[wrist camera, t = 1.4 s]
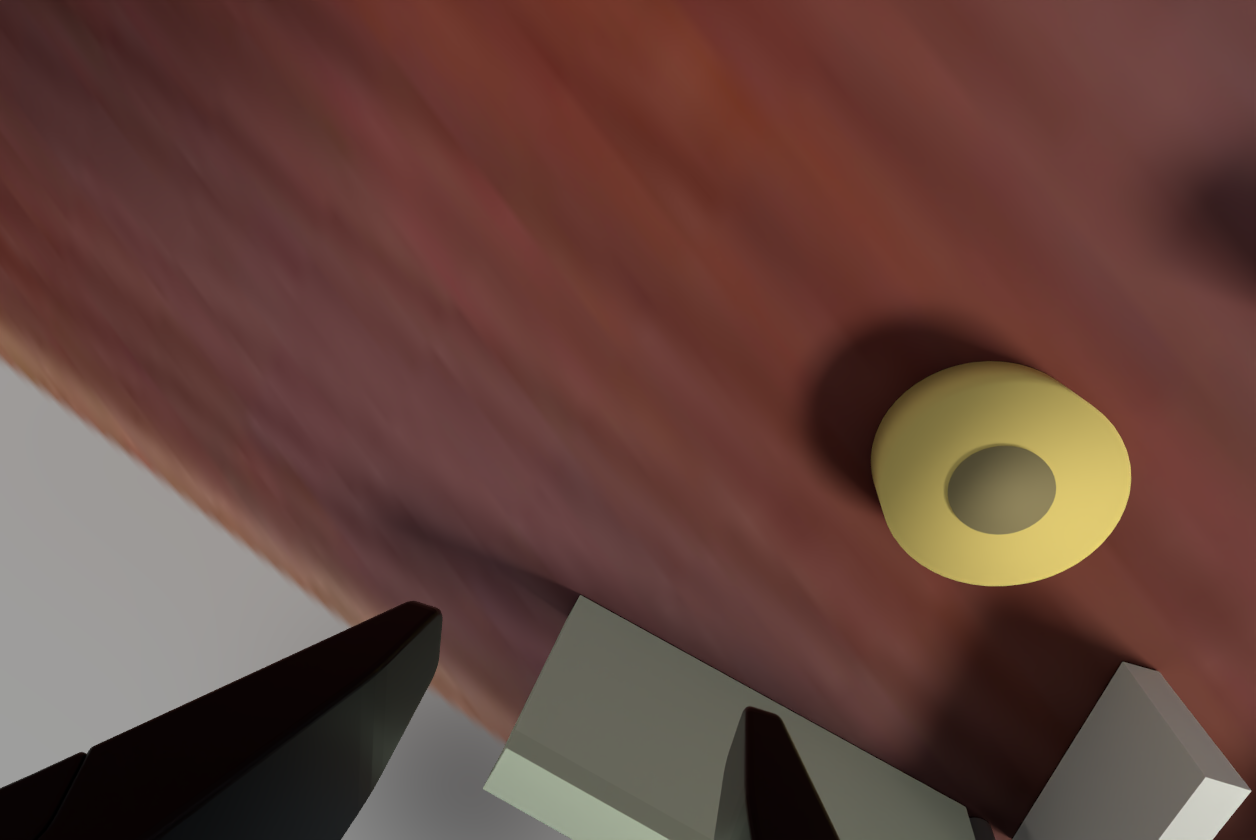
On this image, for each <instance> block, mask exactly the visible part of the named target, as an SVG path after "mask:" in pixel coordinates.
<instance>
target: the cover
mask: <svg viewBox="0 0 1256 840" xmlns="http://www.w3.org/2000/svg"><path fill="white" fill-rule="evenodd" d="M748 706H752V707H756V708H759V709H762V710H765V711H768V712H771V713H775V714H777V715H778V716H779V717H780V718H781V719H782V720H783V722H784V724H785V726H786V728H787V730H788V733H789V735H790V737H791V739H792V741H793V743H794V745H795V747H796V749H797V751H798V753H799V755H800V757H801V760H802V762H803V764H804V766H805V768H806V770H807V772H808V774H809V776H810V778H811V780H812V782H813V785H814V787H815V789H816V791H817V793H818V795H819V797H820V799H821V801H822V803H823V805H824V807H825V810H826V812H827V814H828V816H829V818H830V820H831V822H832V824H833V826H834V828H835V830H836V832H837V834H838V837H839V839H840V840H975V836H974V833H973V830H972V826H971V823H970V820H969V816H968V813H967V810H966V807H965V806H963V805H961V804H959V803H958V802H956V801H954V800H952V799H950V798H948V797H947V796H945V795H943V794H941V793H939V792H938V791H936V790H934V789H932V788H930V787H928V786H927V785H925V784H923V783H921V782H919V781H918V780H916V779H914V778H912V777H910V776H908V775H907V774H905V773H903V772H901V771H899V770H898V769H896V768H894V767H892V766H890V765H888V764H887V763H885V762H883V761H881V760H879V759H878V758H876V757H874V756H872V755H870V754H868V753H867V752H865V751H863V750H861V749H859V748H858V747H856V746H854V745H852V744H850V743H849V742H847V741H845V740H843V739H841V738H839V737H838V736H836V735H834V734H832V733H830V732H829V731H827V730H825V729H823V728H821V727H819V726H818V725H816V724H814V723H812V722H810V721H809V720H807V719H805V718H803V717H801V716H799V715H798V714H796V713H794V712H792V711H790V710H789V709H787V708H785V707H783V706H781V705H779V704H778V703H776V702H774V701H772V700H770V699H769V698H767V697H765V696H763V695H761V694H759V693H758V692H756V691H754V690H752V689H750V688H749V687H747V686H745V685H743V684H741V683H739V682H738V681H736V680H734V679H732V678H730V677H729V676H727V675H725V674H723V673H721V672H720V671H718V670H716V669H714V668H712V667H710V666H709V665H707V664H705V663H703V662H701V661H700V660H698V659H696V658H694V657H692V656H690V655H689V654H687V653H685V652H683V651H681V650H680V649H678V648H676V647H674V646H672V645H670V644H669V643H667V642H665V641H663V640H661V639H660V638H658V637H656V636H654V635H652V634H650V633H649V632H647V631H645V630H643V629H641V628H640V627H638V626H636V625H634V624H632V623H630V622H629V621H627V620H625V619H623V618H621V617H620V616H618V615H616V614H614V613H612V612H611V611H609V610H607V609H605V608H603V607H601V606H600V605H598V604H596V603H594V602H592V601H591V600H589V599H587V598H585V597H583V596H581V595H580V596H579V598H578V600H577V601H576V603H575V605H574V607H573V609H572V610H571V612H570V614H569V616H568V618H567V619H566V622H565V624H564V626H563V628H562V630H561V632H560V634H559V636H558V638H557V640H556V642H555V644H554V646H553V648H552V650H551V652H550V654H549V656H548V658H547V660H546V662H545V665H544V667H543V669H542V671H541V673H540V675H539V677H538V679H537V681H536V683H535V685H534V687H533V689H532V691H531V693H530V695H529V697H528V699H527V701H526V703H525V705H524V708H523V710H522V712H521V714H520V716H519V718H518V720H517V722H516V724H515V726H514V728H513V730H512V732H511V734H510V736H509V738H508V740H507V742H506V744H505V747H504V748H503V751H502V753H501V755H500V757H499V758H498V761H497V762H496V764H495V766H494V767H493V769H492V771H491V773H490V775H489V777H488V779H487V781H486V783H485V785H484V787H483V789H484V790H486V791H487V792H489V793H491V794H493V795H494V796H496V797H498V798H500V799H501V800H504V801H505V802H507V803H509V804H510V805H512V806H514V807H516V808H517V809H519V810H521V811H523V812H524V813H526V814H528V815H530V816H532V817H534V818H535V819H537V820H539V821H540V822H542V823H544V824H546V825H547V826H549V827H551V828H553V829H555V830H556V831H558V832H560V833H562V834H563V835H565V836H567V837H569V838H571V839H572V840H714V834H715V828H716V821H717V814H718V808H719V801H720V795H721V788H722V781H723V775H724V769H725V764H726V760H727V756H728V753H729V750H730V747H731V744H732V741H733V738H734V735H735V732H736V729H737V726H738V723H739V720H740V718H741V715H742V712H743V710H744V709H745V708H746V707H748Z"/></svg>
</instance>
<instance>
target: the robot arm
mask: <svg viewBox="0 0 1256 840" xmlns="http://www.w3.org/2000/svg"><path fill="white" fill-rule="evenodd" d="M441 630H442V613H441V611H440V610H439V609H438V608H436V607H433V606H429V605H426V604H423V603H420V602H417V601H409V602H406V603H403V604H401V605H399V606H397V607H395V608H393V609H390V610H388V611H386V612H384V613H382V614H380V615H377V616H375V617H373V618H371V619H369V620H367V621H364V622H362V623H360V624H358V625H356V626H354V627H351V628H349V629H347V630H345V631H343V632H340V633H339V634H336V635H334V636H332V637H330V638H327V639H325V640H323V641H321V642H319V643H317V644H315V645H312V646H310V647H308V648H306V649H304V650H302V651H299V652H297V653H295V654H293V655H291V656H289V657H286V658H284V659H282V660H280V661H278V662H275V663H273V664H271V665H269V666H267V667H265V668H262V669H260V670H258V671H256V672H254V673H252V674H249V675H247V676H245V677H243V678H241V679H239V680H236V681H234V682H232V683H230V684H228V685H225V686H223V687H221V688H219V689H217V690H215V691H213V692H210V693H208V694H206V695H204V696H202V697H199V698H197V699H195V700H193V701H191V702H189V703H186V704H184V705H182V706H180V707H178V708H176V709H174V710H171V711H169V712H167V713H165V714H163V715H160V716H158V717H156V718H154V719H152V720H150V721H147V722H145V723H143V724H141V725H139V726H137V727H134V728H132V729H130V730H128V731H126V732H123V733H121V734H119V735H117V736H115V737H113V738H110V739H108V740H106V741H104V742H102V743H100V744H98V745H95V746H93V747H92V748H91V749H90V750H89V751H88V753H87V754H86V753H83V752H80V753H77V754H75V755H73V756H71V757H69V758H66V759H64V760H62V761H60V762H58V763H56V764H53V765H51V766H49V767H47V768H45V769H43V770H40V771H38V772H36V773H34V774H32V775H30V776H27V777H25V778H23V779H20V780H18V781H16V782H14V783H11V784H9V785H7V786H5V787H2V788H0V840H341V839H342V837H343V836H344V834H345V832H346V831H347V830H348V828H349V827H350V825H351V823H352V822H353V821H354V819H355V818H356V816H357V815H358V813H359V811H360V810H361V808H362V807H363V805H364V804H365V802H366V800H367V799H368V797H369V796H370V794H371V792H372V791H373V789H374V787H375V785H376V783H377V782H378V780H379V778H380V776H381V774H382V773H383V771H384V769H385V767H386V765H387V763H388V761H389V759H390V757H391V756H392V753H393V752H394V750H395V748H396V746H397V744H398V742H399V741H400V738H401V737H402V735H403V733H404V731H405V729H406V727H407V726H408V724H409V722H410V720H411V718H412V716H413V714H414V712H415V710H416V708H417V707H418V705H419V703H420V701H421V699H422V697H423V695H424V693H425V692H426V690H427V688H428V686H429V684H430V682H431V680H432V678H433V676H434V674H435V671H436V668H437V665H438V661H439V652H440V641H441ZM714 840H840V839H839V837H838V834H837V832H836V830H835V828H834V826H833V824H832V822H831V820H830V818H829V816H828V814H827V812H826V810H825V807H824V805H823V803H822V801H821V799H820V797H819V795H818V793H817V791H816V789H815V787H814V785H813V782H812V780H811V778H810V776H809V774H808V772H807V770H806V768H805V766H804V764H803V762H802V760H801V757H800V755H799V753H798V751H797V749H796V747H795V745H794V743H793V741H792V739H791V737H790V735H789V733H788V730H787V728H786V726H785V724H784V722H783V720H782V719H781V718H780V717H779V716H778V715H777V714H775V713H771V712H768V711H765V710H762V709H759V708H756V707H752V706H748V707H746V708H745V709H744V710H743V712H742V715H741V718H740V720H739V723H738V726H737V729H736V732H735V735H734V738H733V741H732V744H731V747H730V750H729V753H728V756H727V760H726V764H725V769H724V775H723V781H722V788H721V795H720V801H719V808H718V814H717V821H716V828H715V834H714Z"/></svg>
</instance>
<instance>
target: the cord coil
mask: <svg viewBox="0 0 1256 840" xmlns="http://www.w3.org/2000/svg"><path fill="white" fill-rule="evenodd" d="M871 471H872V477H873V482H874V485H875V488H876V491H877V494H878V498H879V501H880V504H881V507H882V511H883V514H884V517H885V520H886V523H887V525H888V527H889V529H890V531H891V533H892V535H893V536H894V538H895V539H896V540H897V542H898V543H899V545H900V546H901V547H902V548H903V549H904V550H905V551H906V552H907V553H908V554H909V555H910V556H911V557H912V558H913V559H915V560H916V561H917V562H918V563H920V564H921V565H923V566H925V567H926V568H928V569H929V570H931V571H933V572H935V573H937V574H940V575H942V576H944V577H947V578H950V579H953V580H956V581H959V582H964V583H968V584H974V585H983V586H1010V585H1019V584H1024V583H1030V582H1034V581H1038V580H1041V579H1044V578H1048V577H1050V576H1053V575H1055V574H1058V573H1060V572H1062V571H1065V570H1066V569H1068V568H1070V567H1072V566H1074V565H1075V564H1077V563H1079V562H1080V561H1081V560H1083V559H1084V558H1086V557H1087V556H1089V555H1090V554H1091V553H1092V552H1093V551H1094V550H1096V549H1097V548H1098V547H1099V546H1100V545H1101V544H1102V543H1103V542H1104V541H1105V540H1106V538H1107V537H1108V536H1109V535H1110V534H1111V532H1112V531H1113V529H1114V528H1115V526H1116V525H1117V523H1118V522H1119V520H1120V518H1121V516H1122V514H1123V512H1124V509H1125V507H1126V504H1127V500H1128V497H1129V493H1130V485H1131V468H1130V462H1129V457H1128V453H1127V450H1126V448H1125V445H1124V443H1123V441H1122V438H1121V437H1120V435H1119V434H1118V432H1117V430H1116V429H1115V427H1114V426H1113V425H1112V424H1111V423H1110V421H1109V420H1108V419H1107V418H1106V417H1105V416H1104V415H1103V414H1102V413H1101V412H1099V411H1098V410H1097V409H1096V408H1095V407H1093V406H1092V405H1091V404H1089V403H1088V402H1086V401H1085V400H1084V399H1082V398H1081V397H1079V396H1078V395H1077V394H1075V393H1074V392H1072V391H1071V390H1070V389H1068V388H1067V387H1066V386H1064V385H1063V384H1061V383H1060V382H1059V381H1057V380H1055V379H1054V378H1052V377H1050V376H1049V375H1047V374H1045V373H1043V372H1041V371H1038V370H1036V369H1034V368H1031V367H1027V366H1024V365H1020V364H1015V363H1009V362H1000V361H982V362H972V363H966V364H961V365H957V366H953V367H950V368H947V369H944V370H941V371H939V372H937V373H935V374H932V375H930V376H928V377H927V378H925V379H923V380H921V381H920V382H918V383H916V384H915V385H914V386H912V387H911V388H910V389H908V390H907V391H906V392H905V393H904V394H903V395H902V396H901V397H899V398H898V399H897V400H896V401H895V403H894V404H893V405H892V406H891V408H890V409H889V410H888V411H887V413H886V414H885V416H884V418H883V419H882V421H881V423H880V425H879V427H878V429H877V432H876V434H875V438H874V441H873V445H872V452H871Z"/></svg>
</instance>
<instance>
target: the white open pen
mask: <svg viewBox="0 0 1256 840" xmlns="http://www.w3.org/2000/svg"><path fill="white" fill-rule="evenodd" d="M1250 792H1251V789H1250V788H1249V787H1248V786H1247V784H1246V783H1245V782H1244V780H1243V779H1242V778H1241V777H1240V775H1239V774H1238V773H1237V771H1236V770H1235V769H1234V768H1233V766H1232V765H1231V764H1230V762H1229V761H1228V760H1227V759H1226V757H1225V756H1224V755H1223V753H1222V752H1221V751H1220V750H1219V748H1218V747H1217V746H1216V744H1215V743H1214V742H1213V741H1212V739H1211V738H1210V737H1209V735H1208V734H1207V733H1206V732H1205V730H1204V729H1203V728H1202V726H1201V725H1200V724H1199V723H1198V721H1197V720H1196V719H1195V717H1194V716H1193V715H1192V714H1191V712H1190V711H1189V710H1188V708H1187V707H1186V706H1185V705H1184V703H1183V702H1182V701H1181V699H1180V698H1179V697H1178V696H1177V694H1176V693H1175V692H1174V690H1173V689H1172V688H1171V687H1170V685H1169V684H1168V683H1167V681H1166V680H1165V679H1164V678H1163V676H1162V675H1161V674H1160V672H1158V671H1155V670H1151V669H1148V668H1144V667H1140V666H1137V665H1133V664H1130V663H1126V662H1122V663H1121V665H1120V667H1119V668H1118V670H1117V671H1116V673H1115V675H1114V676H1113V678H1112V679H1111V681H1110V683H1109V684H1108V686H1107V687H1106V689H1105V691H1104V692H1103V694H1102V695H1101V697H1100V699H1099V700H1098V702H1097V704H1096V705H1095V707H1094V708H1093V710H1092V712H1091V713H1090V715H1089V716H1088V718H1087V720H1086V721H1085V723H1084V724H1083V726H1082V728H1081V729H1080V731H1079V733H1078V734H1077V736H1076V737H1075V739H1074V741H1073V742H1072V744H1071V745H1070V747H1069V749H1068V750H1067V752H1066V753H1065V755H1064V757H1063V758H1062V760H1061V762H1060V763H1059V765H1058V766H1057V768H1056V770H1055V771H1054V773H1053V774H1052V776H1051V778H1050V779H1049V781H1048V782H1047V784H1046V786H1045V787H1044V789H1043V791H1042V792H1041V794H1040V795H1039V797H1038V799H1037V800H1036V802H1035V803H1034V805H1033V807H1032V808H1031V810H1030V811H1029V813H1028V815H1027V816H1026V818H1025V820H1024V821H1023V823H1022V824H1021V826H1020V828H1019V829H1018V831H1017V832H1016V834H1015V836H1014V837H1013V839H1012V840H1213V838H1214V837H1215V836H1216V835H1217V833H1218V832H1219V831H1220V830H1221V828H1222V827H1223V826H1224V825H1225V823H1226V822H1227V821H1228V820H1229V818H1230V817H1231V816H1232V815H1233V813H1234V812H1235V811H1236V810H1237V808H1238V807H1239V806H1240V805H1241V803H1242V802H1243V801H1244V800H1245V798H1246V797H1247V796H1248V795H1249V793H1250ZM969 820H970V823H971V826H972V830H973V833H974V836H975V840H995V837H994V834H993V831H992V828H991V826H990V824H989V823H988V822H987V821H985V820H983V819H981V818H969Z"/></svg>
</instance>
